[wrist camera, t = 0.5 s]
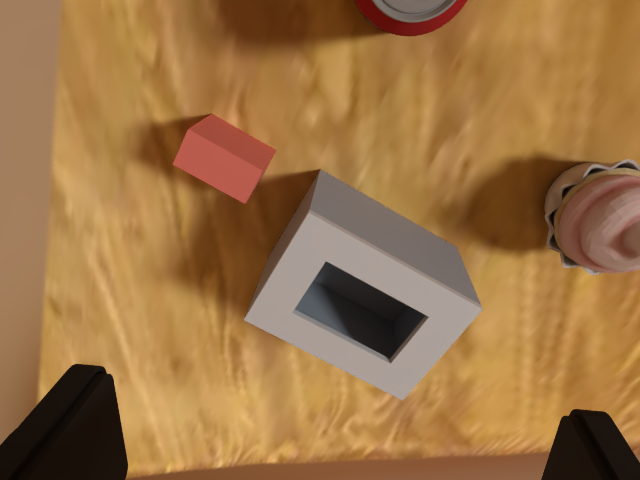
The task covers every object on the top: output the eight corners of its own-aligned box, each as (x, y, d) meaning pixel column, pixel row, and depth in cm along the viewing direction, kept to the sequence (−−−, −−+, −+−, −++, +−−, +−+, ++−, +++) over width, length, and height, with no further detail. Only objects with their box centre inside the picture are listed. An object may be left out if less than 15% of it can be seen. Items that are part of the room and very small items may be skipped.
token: (197, 144, 40) (172, 164, 35) (212, 113, 39) (188, 129, 34) (260, 179, 41) (245, 204, 36) (276, 150, 40) (263, 171, 35)
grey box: (267, 258, 44) (243, 320, 35) (320, 169, 40) (308, 212, 31) (394, 326, 46) (402, 400, 37) (456, 247, 42) (482, 309, 33)
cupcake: (536, 140, 38) (591, 178, 29) (658, 145, 37) (753, 186, 28) (513, 245, 42) (555, 308, 33) (623, 251, 41) (696, 317, 32)
